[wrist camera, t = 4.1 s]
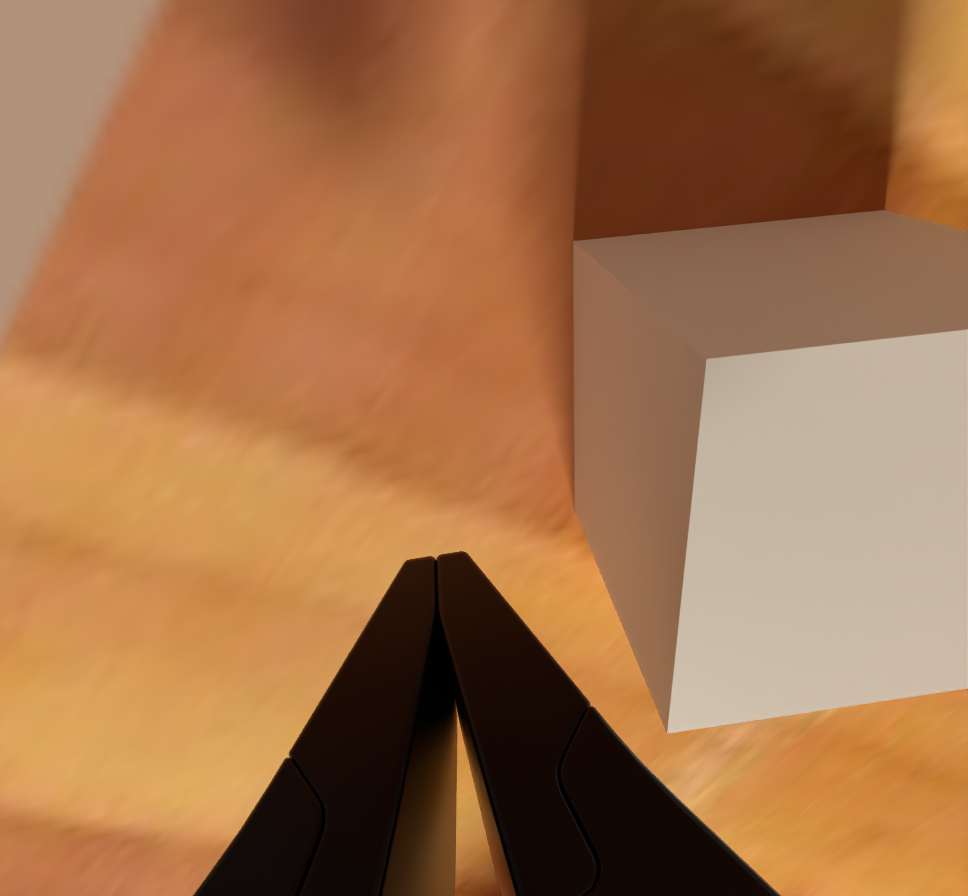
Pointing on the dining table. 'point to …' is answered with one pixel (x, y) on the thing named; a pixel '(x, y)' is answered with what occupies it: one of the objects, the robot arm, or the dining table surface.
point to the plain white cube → (778, 459)
